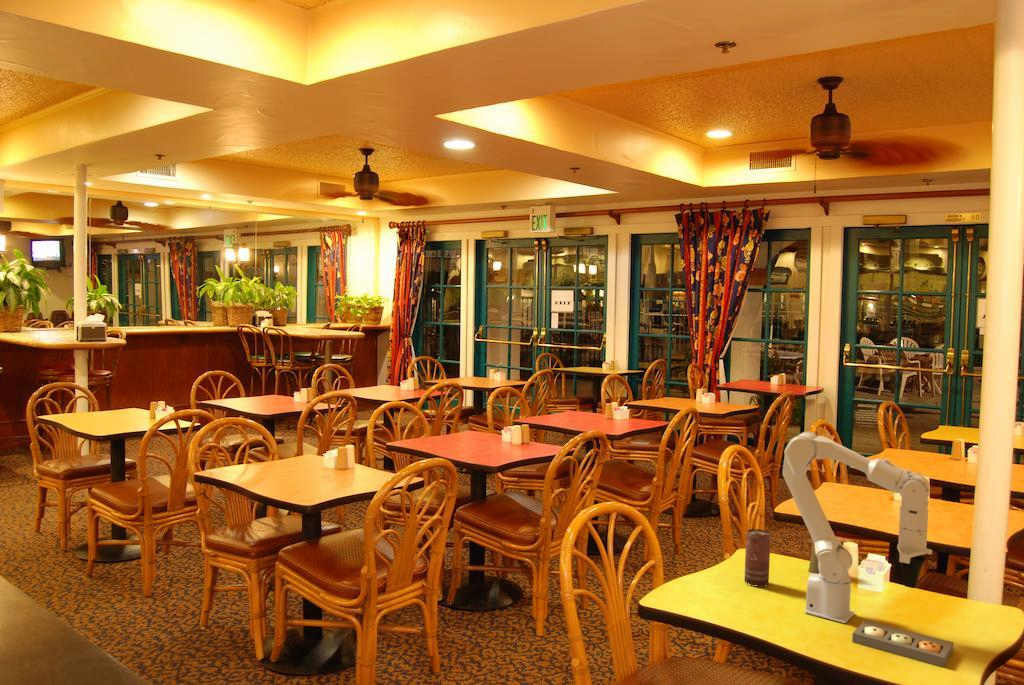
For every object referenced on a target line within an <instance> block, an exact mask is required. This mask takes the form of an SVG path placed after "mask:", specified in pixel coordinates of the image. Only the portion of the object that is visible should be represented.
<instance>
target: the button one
mask: <svg viewBox="0 0 1024 685" xmlns="http://www.w3.org/2000/svg"><path fill="white" fill-rule="evenodd" d="M864 633H866V634H869V635H873V636H877V637H880V638H883V637H884V630H882V629H880V628H877V627H871V626H869V627H865V632H864Z"/></svg>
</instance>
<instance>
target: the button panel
mask: <svg viewBox="0 0 1024 685" xmlns="http://www.w3.org/2000/svg"><path fill="white" fill-rule="evenodd" d="M869 626H871V627H877V628H880V629H882V630H884V637H883V638H880V637H877V636H873V635H869V634H866V633H864V632H865V627H869ZM896 633H897V634H904V635H907V636H909V637H911V638H912V644H911V646H910V645H906V644H903V643H899V642H895V641H892V640H891V635H892V634H896ZM851 640H852V642H851V643H855V644H859V645H862V646H865V647H866V646H867V647H870V648H872V649H877V650H879V651H884V652H888V653H891V654H894V655H897V656H902V657H905V658H909V659H912V660H916V661H918V662H919V661H920V662H923V663H926V664H927V663H928V664H931V665H934V666H937V665H938V667H941V668H945V667H946V664H947V663H948V661H949V659H950V658H951V656H952V654H953V652H954V642H955V641H951V640H950V641H949V640H946V639H943V638H938V637H934V636H930V635H928V634H927V635H926V634H922V633H919V632H916V631H910V630H907V629H904V628H899V627H895V626H892V625H888V624H884V623H880V622H877V621H872V620H868V619H864V620H863V621H862V622H861V624H859V625H858V627H857V628H855V630H854V631H853V632H852V638H851ZM920 641H930V642H934V643H936V644H938V645H940V653H936V652H932V651H929V650H925V649H921V648H919V642H920Z"/></svg>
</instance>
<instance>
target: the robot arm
mask: <svg viewBox="0 0 1024 685" xmlns="http://www.w3.org/2000/svg"><path fill="white" fill-rule="evenodd" d="M783 452H784V459H783V466H782V476H783V478H784V480H785V483H786V485H787V487H788V489H789V491H790V493H791V495H792V498H793V501H794V502H795V505H796V507H797V509H798V511H799V513H800V516H801V518H802V519H803V522H804V524H805V526H806V528H807V530H808V532H809V535H810V537H811V538H812V539H813V541H814V545H815V554H816V556H817V559H818V569H819V572H820V573H819V574H815V573H812V574H809V576H808V578H807V585H806V602H805V610H804V613H805V614H808V615H813V616H815V617H819V618H823V619H828V620H831V621H834V622H838V623H842V624H846V623H848V621H849V620H850V619H852V618H853V616H855V614H856V611H853V610H851V607H850V606H851V594H852V593H851V591H852V590H851V589H852V588H851V587H852V578H851V576H850V575H849V570H850V568H851V567H852V565H853V556H852V554H851V553H850V552H849V550H848V549H846V548H845V547H844V546H843V543H842V542H841V540H840V539H839V538H838V536H836V535H835V533H834V531H833V530H832V528H831V527H832V526H831V525H830V522H829V521H828V518H827V516H826V515H825V512H824V510H823V508H822V505H821V503H820V501H819V499H818V497H817V495H816V493H815V491H814V489H813V487H812V484H811V482H810V480H809V478H808V475H807V472H808V470H809V468H810V465H811V462H812V461H813V460H814V459H815V458H816V460H817V461H818V460H824V459H825V460H828V459H833V460H835V461H837V462H839V463H842V464H843V465H846V466H849V467H851V468H853V469H855V470H858V471H861V472H863V473H864V474H865V476H866V477H867V480H868V481H870V482H872V483H874V484H876V485H877V486H879V487H882V488H883V489H886V490H888V491H891V492H893V493H894V494H899V495H900V497H901V505H900V508H899V524H898V542H897V544H896V545H897V546H896V549H897V550H898V553H897V554H896V561H897V563H898V565H899V567H900V569H901V575H902V582H903V585H904V587H907V588H910V589H915V588H916V586H918V585H917V584H918V581H919V577H920V575H921V571H922V568H923V566H924V564H925V562H926V561H927V559H928V557H927V556H926V555H932V554H933V550H932V549H930V548H927V544H928V543H927V540H928V527H929V525H928V524H929V509H928V508H929V501H928V500H929V495H930V491H931V485H930V482H929V480H928V479H927V478H926V477H925V476H924V475H922V474H921V473H918V472H913V471H912V470H910V469H909V468H907V469H903V468H902V467H900V466H897V465H895V464H893V463H892V461H891V459H888V458H884V459H882V458H876V459H869V458H867V457H865V456H864V455H861V454H859V453H857V452H856V451H854V450H852V449H850V448H847V447H846V446H843V445H841V444H840V443H838V442H836V441H835V440H832V439H830V438H828V437H826V436H823V435H818V434H816V433H814V432H813V431H803V432H801V433H799V434H798V435H797V436H794V437H793V438H791V439H790V440H789V441H788V443H787V445H786V447H785V449H784V451H783Z"/></svg>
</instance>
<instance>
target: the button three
mask: <svg viewBox="0 0 1024 685" xmlns="http://www.w3.org/2000/svg"><path fill="white" fill-rule="evenodd" d="M919 648H921V649H925V650H929V651H932V652H936V653H940V645H938V644H936V643H934V642H930V641H920V642H919Z"/></svg>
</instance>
